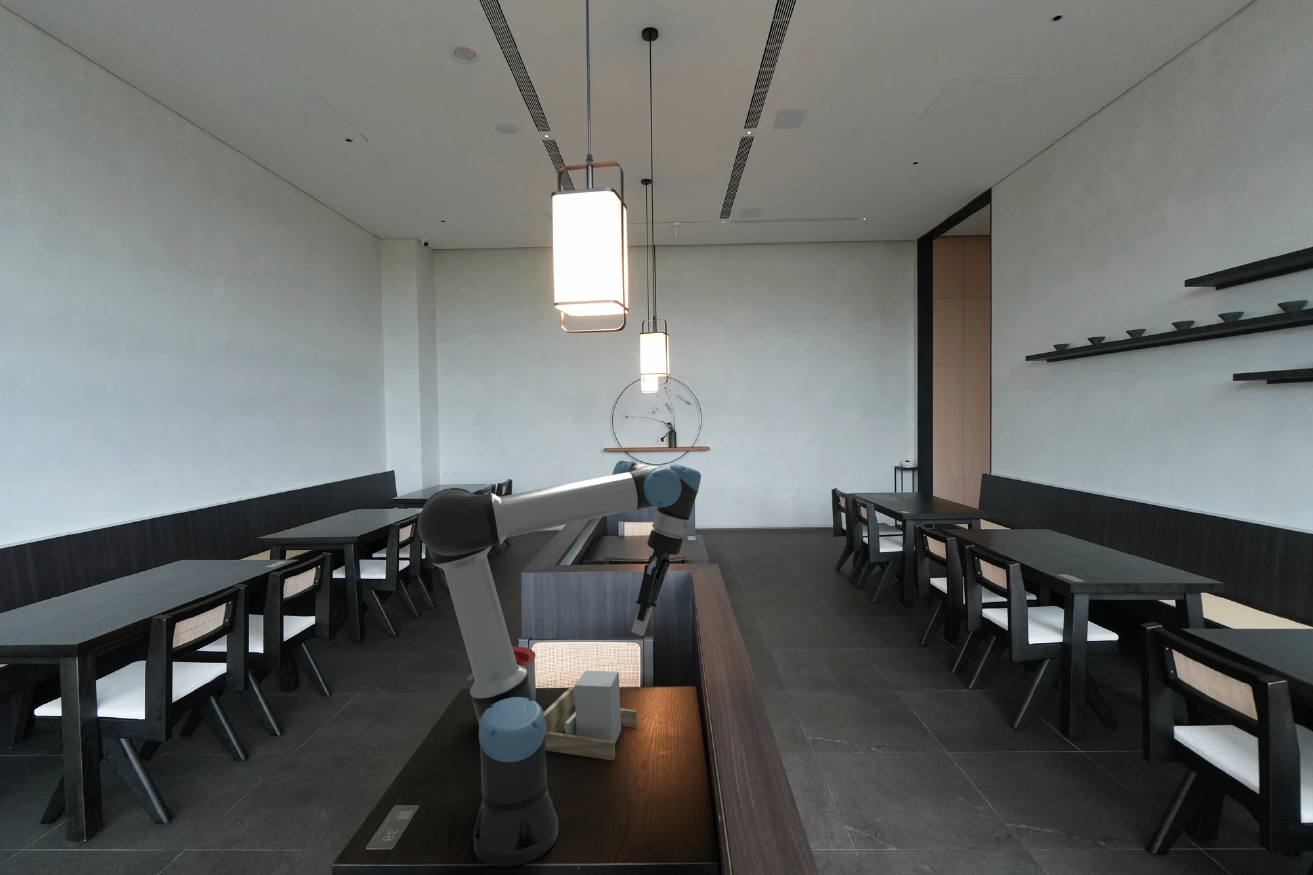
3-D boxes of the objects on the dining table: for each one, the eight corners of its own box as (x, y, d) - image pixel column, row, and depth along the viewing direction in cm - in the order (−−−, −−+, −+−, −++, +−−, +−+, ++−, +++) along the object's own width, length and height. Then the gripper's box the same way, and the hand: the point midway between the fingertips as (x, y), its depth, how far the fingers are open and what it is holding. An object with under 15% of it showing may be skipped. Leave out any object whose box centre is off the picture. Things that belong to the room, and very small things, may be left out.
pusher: (569, 749, 137) (568, 723, 137) (565, 748, 138) (564, 723, 138) (592, 721, 150) (591, 698, 150) (588, 721, 150) (588, 697, 150)
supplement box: (622, 730, 146) (620, 670, 146) (613, 750, 137) (610, 686, 137) (587, 728, 147) (585, 669, 147) (575, 747, 139) (573, 684, 138)
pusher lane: (613, 760, 133) (612, 725, 133) (541, 749, 138) (540, 715, 138) (637, 725, 148) (636, 694, 148) (571, 717, 153) (570, 686, 153)
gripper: (675, 541, 125) (643, 647, 125) (690, 536, 137) (661, 632, 138) (643, 530, 127) (612, 633, 128) (660, 525, 140) (632, 620, 140)
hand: (637, 632), depth 133 cm, fingers closed
